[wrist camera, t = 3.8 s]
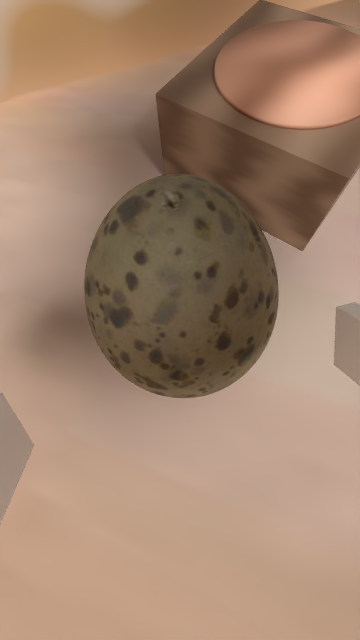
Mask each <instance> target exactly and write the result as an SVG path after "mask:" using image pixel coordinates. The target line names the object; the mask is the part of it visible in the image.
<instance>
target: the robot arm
mask: <svg viewBox="0 0 360 640" xmlns="http://www.w3.org/2000/svg"><path fill="white" fill-rule="evenodd" d="M334 365H335V366H336V367H338V368H339V369H340V370H341V371H342V372H344V373H345V374H346V375H347V376H349V377H350V378H351V379H352V380H353V381H355V382H356V383H357V384H358V385H360V305H359V304H357V303H355V302H354V303H350V304H346V305H342V306H338V307H336V325H335V352H334ZM33 446H34V444H33V442H32V441H31V439H30V438H29V436H28V434H27V433H26V431H25V429H24V428H23V426H22V424H21V423H20V421H19V420H18V418H17V416H16V415H15V413H14V411H13V410H12V408H11V406H10V405H9V403H8V401H7V400H6V398H5V397H4V395H3V393H1V394H0V523H1V521H2V519H3V516H4V514H5V512H6V509H7V507H8V505H9V502H10V500H11V498H12V495H13V493H14V491H15V488H16V486H17V484H18V481H19V479H20V477H21V474H22V472H23V470H24V467H25V465H26V463H27V460H28V458H29V456H30V453H31V451H32V449H33Z"/></svg>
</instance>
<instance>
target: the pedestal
mask: <svg viewBox="0 0 360 640" xmlns="http://www.w3.org/2000/svg"><path fill="white" fill-rule="evenodd" d="M156 101H157V110H158V119H159V128H160V136H161V145H162V154H163V163H164V171H165V175H168V174H188V175H194V176H199V177H202V178H205V179H207V180H210V181H212V182H214V183H216V184H218V185H220V186H221V187H223V188H224V189H226V190H227V191H229V192H230V193H231V194H233V195H234V196H235V197H236V198H237V199H238V200H239V201H240V202H241V203H242V204H243V205H244V206H245V207H246V208H247V209H248V211H249V212H250V213H251V215H252V216H253V217H254V219H255V220H256V222H257V223H258V225H259V226H260V228H261V229H262V230H264V231H266V232H268V233H269V234H271V235H273V236H275V237H277V238H279V239H281V240H283V241H285V242H287V243H288V244H290V245H292V246H294V247H296V248H298V249H300V250H302V251H303V250H304V248H305V247H306V245H307V244H308V242H309V241H310V239H311V238H312V236H313V235H314V233H315V232H316V230H317V229H318V227H319V226H320V224H321V223H322V222H323V220H324V219H325V217H326V216H327V214H328V213H329V211H330V210H331V208H332V207H333V205H334V204H335V202H336V201H337V199H338V198H339V196H340V195H341V193H342V192H343V191H344V189H345V188H346V186H347V185H348V183H349V182H350V180H351V179H352V177H353V176H354V174H355V173H356V171H357V170H358V168H359V167H360V29H357V28H354V27H351V26H347V25H344V24H341V23H337V22H334V21H331V20H327V19H324V18H320V17H317V16H314V15H310V14H307V13H304V12H300V11H297V10H294V9H290V8H287V7H283V6H280V5H277V4H273V3H270V2H267V1H263V0H259V1H258V2H257V3H256V4H255V5H254V6H253V7H252V8H250V9H249V10H248V11H247V12H246V13H245V14H244V15H243V16H241V17H240V18H239V19H238V20H237V21H236V22H235V23H234V24H233V25H231V26H230V27H229V28H228V29H227V30H226V31H225V32H224V33H223V34H222V35H221V36H219V37H218V38H217V39H216V40H215V41H214V42H213V43H212V44H210V45H209V46H208V47H207V48H206V49H205V50H204V51H203V52H202V53H201V54H199V55H198V56H197V57H196V58H195V59H194V60H193V61H192V62H191V63H189V64H188V65H187V66H186V67H185V68H184V69H183V70H182V71H181V72H180V73H178V74H177V75H176V76H175V77H174V78H173V79H172V80H171V81H170V82H168V83H167V84H166V85H165V86H164V87H163V88H162V89H161V90H160V91H159V92H157V93H156Z"/></svg>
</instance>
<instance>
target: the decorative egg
mask: <svg viewBox="0 0 360 640" xmlns="http://www.w3.org/2000/svg"><path fill="white" fill-rule="evenodd" d="M84 289H85V304H86V310H87V316H88V319H89V323H90V326H91V329H92V332H93V335H94V337H95V339H96V341H97V343H98V345H99V347H100V349H101V350H102V352H103V353H104V355H105V356H106V358H107V359H108V361H109V362H110V363H111V364H112V365H113V366H114V368H115V369H116V370H117V371H118V372H120V373H121V374H122V375H123V376H124V377H125V378H127V379H128V380H129V381H131V382H132V383H134V384H135V385H137V386H139V387H141V388H143V389H145V390H147V391H149V392H152V393H155V394H158V395H162V396H167V397H174V398H194V397H200V396H205V395H208V394H211V393H214V392H217V391H219V390H221V389H224V388H226V387H227V386H229V385H231V384H232V383H234V382H235V381H237V380H238V379H239V378H241V377H242V376H243V375H244V374H245V373H246V372H247V371H248V370H249V369H250V368H251V367H252V366H253V365H254V364H255V362H256V361H257V360H258V358H259V357H260V356H261V354H262V352H263V351H264V349H265V347H266V345H267V343H268V341H269V339H270V336H271V334H272V331H273V328H274V324H275V320H276V316H277V308H278V280H277V272H276V267H275V263H274V259H273V256H272V252H271V249H270V247H269V244H268V242H267V239H266V238H265V236H264V234H263V232H262V230H261V228H260V226H259V225H258V223H257V222H256V220H255V219H254V217H253V216H252V215H251V213H250V212H249V211H248V209H247V208H246V207H245V206H244V205H243V204H242V203H241V202H240V201H239V200H238V199H237V198H236V197H235V196H234V195H233V194H231V193H230V192H229V191H227V190H226V189H224V188H223V187H221V186H220V185H218V184H216V183H214V182H212V181H210V180H207V179H205V178H202V177H199V176H194V175H188V174H168V175H163V176H159V177H155V178H153V179H150V180H148V181H145V182H144V183H142V184H140V185H138V186H137V187H135V188H134V189H132V190H131V191H129V192H128V193H127V194H126V195H125V196H124V197H122V198H121V199H120V200H119V201H118V202H117V203H116V204H115V205H114V207H113V208H112V209H111V210H110V212H109V213H108V214H107V216H106V217H105V218H104V220H103V222H102V224H101V225H100V227H99V229H98V231H97V233H96V235H95V238H94V240H93V243H92V246H91V249H90V252H89V255H88V260H87V265H86V271H85V281H84Z"/></svg>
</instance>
